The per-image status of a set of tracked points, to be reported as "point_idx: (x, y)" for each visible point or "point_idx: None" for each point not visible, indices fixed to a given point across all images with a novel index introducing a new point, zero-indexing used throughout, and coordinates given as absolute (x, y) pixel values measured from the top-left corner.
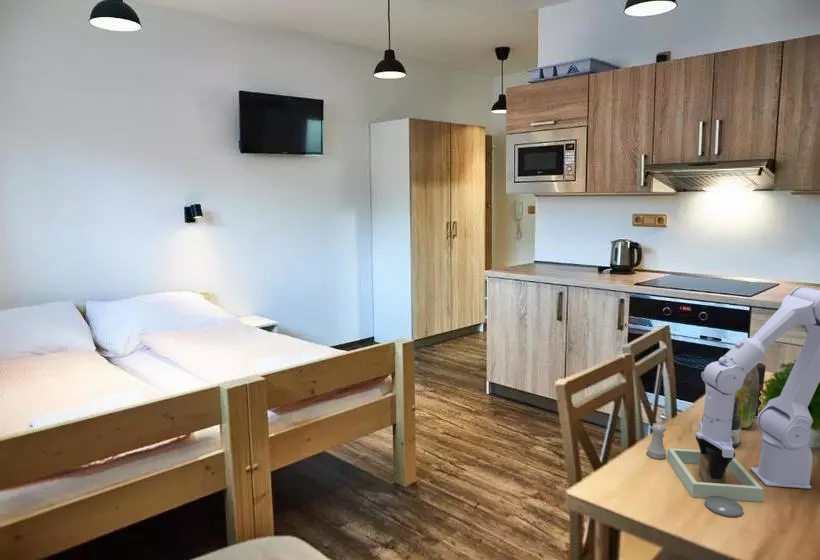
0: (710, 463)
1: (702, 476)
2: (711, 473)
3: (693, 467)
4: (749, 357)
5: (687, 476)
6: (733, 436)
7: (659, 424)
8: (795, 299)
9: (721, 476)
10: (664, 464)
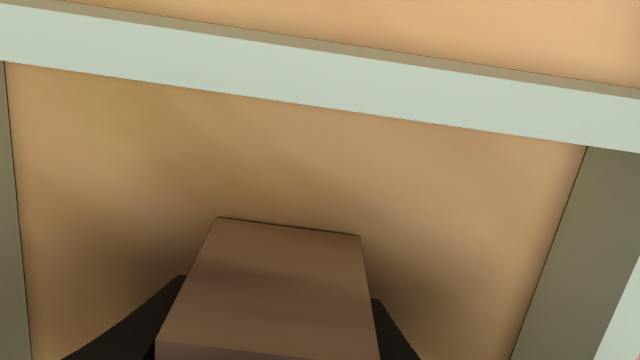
0: (106, 351)
1: (281, 234)
2: (155, 294)
3: (477, 249)
4: None
5: (35, 6)
6: None
7: None
8: None
9: None
10: (570, 19)
